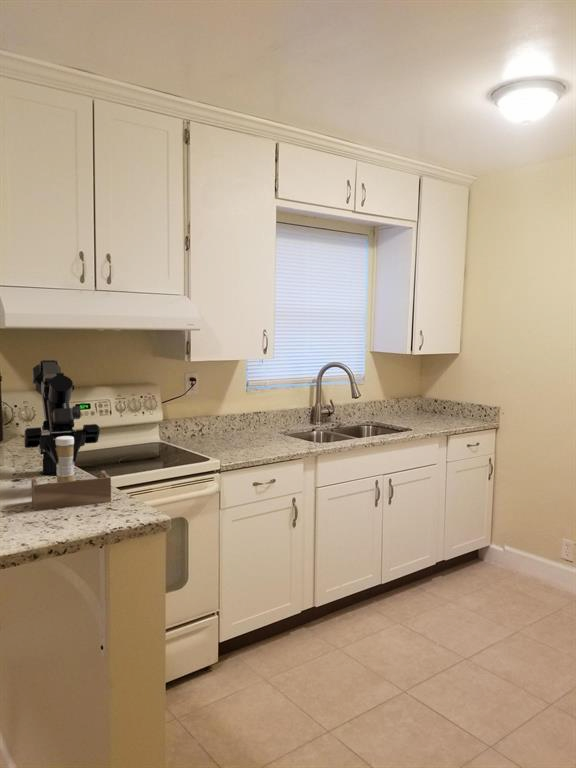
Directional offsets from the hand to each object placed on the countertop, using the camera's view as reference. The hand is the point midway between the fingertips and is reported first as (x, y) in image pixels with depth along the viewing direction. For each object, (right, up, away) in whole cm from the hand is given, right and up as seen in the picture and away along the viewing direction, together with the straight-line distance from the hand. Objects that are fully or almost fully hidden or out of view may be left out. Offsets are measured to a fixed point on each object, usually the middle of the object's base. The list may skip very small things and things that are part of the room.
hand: (65, 461), depth 156 cm
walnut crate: (+4, -9, -7) cm, 12 cm away
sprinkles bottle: (-1, -7, +2) cm, 7 cm away
